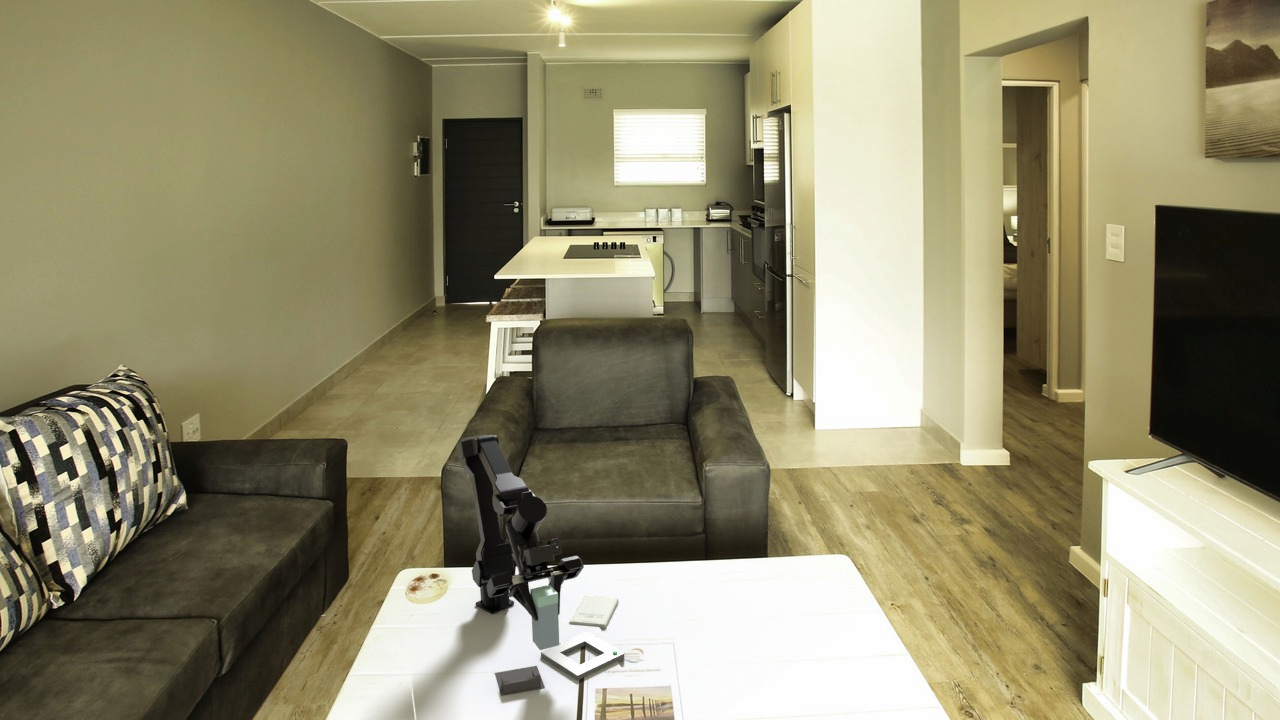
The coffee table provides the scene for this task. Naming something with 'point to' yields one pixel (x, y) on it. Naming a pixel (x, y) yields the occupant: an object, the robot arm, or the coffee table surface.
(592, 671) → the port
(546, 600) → the plug
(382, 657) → the coffee table surface
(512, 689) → the corner stop plate
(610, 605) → the external hard drive
